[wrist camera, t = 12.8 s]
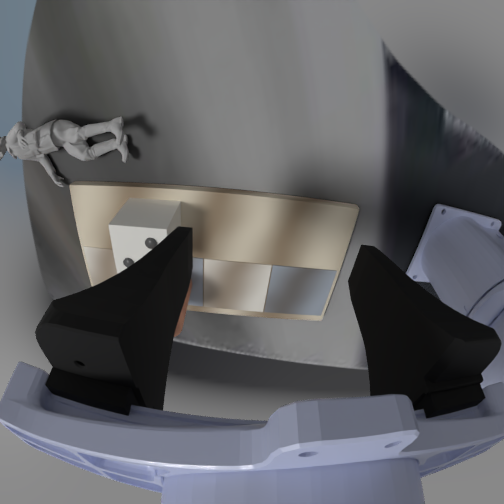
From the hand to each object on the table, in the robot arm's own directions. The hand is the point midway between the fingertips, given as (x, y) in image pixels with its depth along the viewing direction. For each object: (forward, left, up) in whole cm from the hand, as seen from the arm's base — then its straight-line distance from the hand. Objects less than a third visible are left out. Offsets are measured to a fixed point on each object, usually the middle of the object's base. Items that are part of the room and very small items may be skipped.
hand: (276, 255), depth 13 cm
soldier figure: (+16, -2, -10) cm, 19 cm away
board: (+4, +8, -10) cm, 13 cm away
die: (+8, +4, -9) cm, 13 cm away
